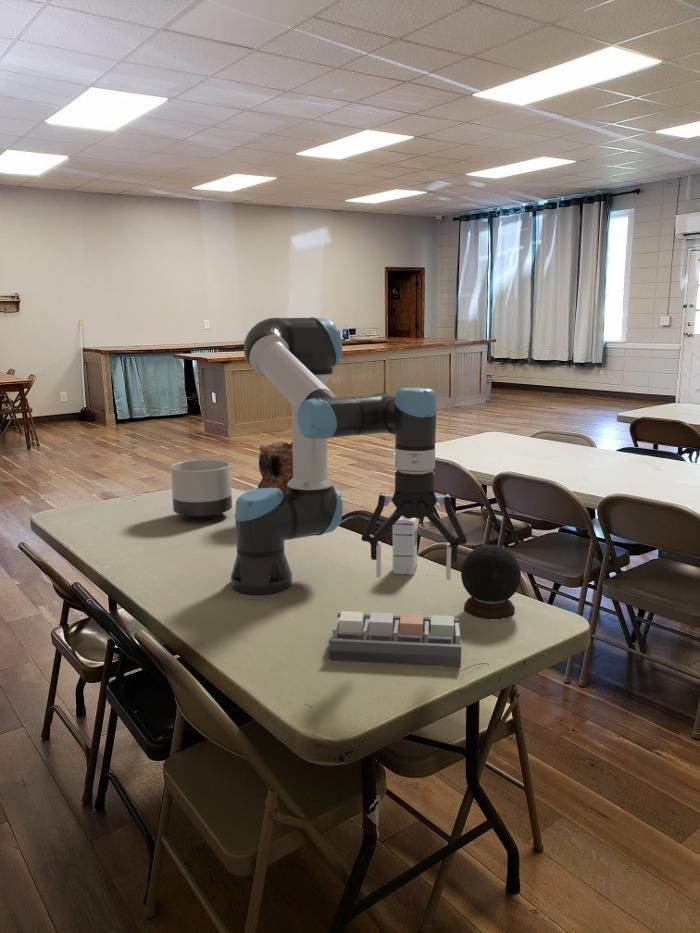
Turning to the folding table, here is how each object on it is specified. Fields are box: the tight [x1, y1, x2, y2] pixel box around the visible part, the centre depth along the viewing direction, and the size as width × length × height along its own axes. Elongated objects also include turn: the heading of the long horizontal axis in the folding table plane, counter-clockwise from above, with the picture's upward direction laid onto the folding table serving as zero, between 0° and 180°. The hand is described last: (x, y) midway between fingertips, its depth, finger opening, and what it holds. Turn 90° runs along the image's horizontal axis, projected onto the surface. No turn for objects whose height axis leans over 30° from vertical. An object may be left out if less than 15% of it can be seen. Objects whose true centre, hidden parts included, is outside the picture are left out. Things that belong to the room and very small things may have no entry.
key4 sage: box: [430, 614, 454, 637], centre depth 138 cm, size 4×4×2 cm
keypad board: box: [328, 612, 462, 667], centre depth 139 cm, size 25×13×4 cm, turn 83°
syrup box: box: [392, 516, 418, 576], centre depth 181 cm, size 6×6×14 cm
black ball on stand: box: [460, 544, 522, 620], centre depth 157 cm, size 13×13×15 cm
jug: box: [257, 441, 293, 493], centre depth 230 cm, size 22×21×25 cm
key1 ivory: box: [339, 610, 365, 633], centre depth 140 cm, size 4×4×2 cm
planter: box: [170, 459, 233, 521], centre depth 233 cm, size 19×19×18 cm
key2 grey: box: [369, 612, 394, 634], centre depth 139 cm, size 4×4×2 cm
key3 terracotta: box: [400, 613, 424, 636], centre depth 139 cm, size 4×4×2 cm
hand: (413, 576), depth 137 cm, fingers open, 13 cm apart
